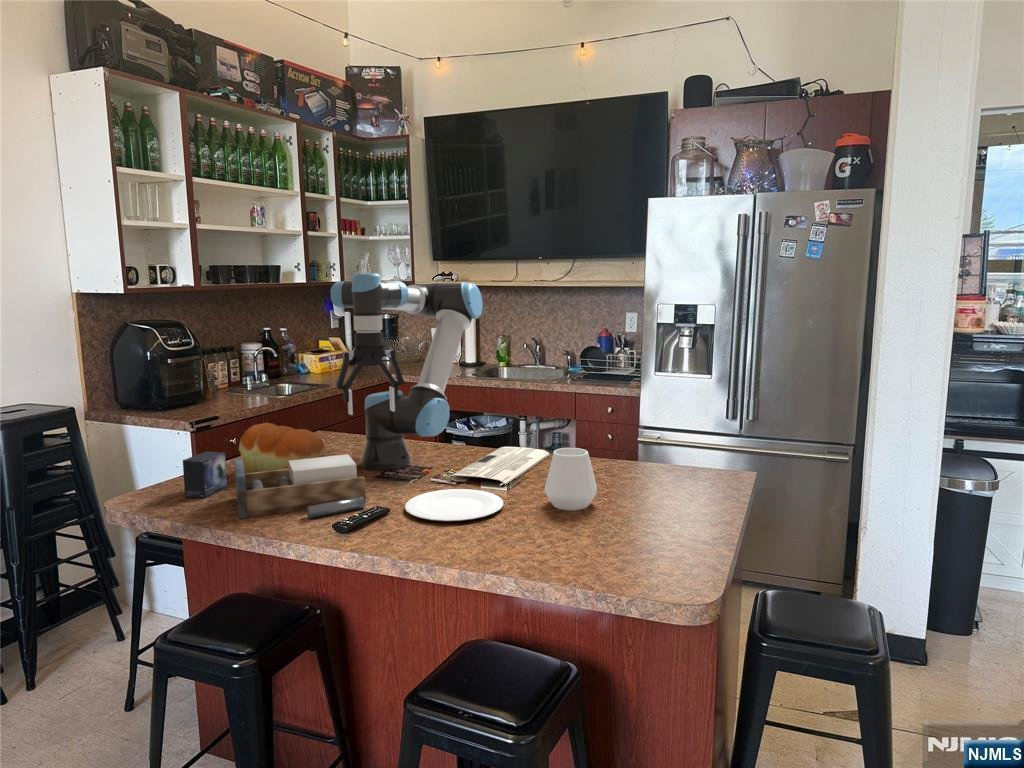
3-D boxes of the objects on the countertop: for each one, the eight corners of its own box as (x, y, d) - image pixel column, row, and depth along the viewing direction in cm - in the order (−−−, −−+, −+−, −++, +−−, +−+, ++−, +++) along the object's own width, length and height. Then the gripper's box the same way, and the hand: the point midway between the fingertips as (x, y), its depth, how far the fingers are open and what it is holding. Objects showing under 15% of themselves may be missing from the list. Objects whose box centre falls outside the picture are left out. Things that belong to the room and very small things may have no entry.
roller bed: (353, 483, 198) (351, 447, 196) (365, 501, 181) (364, 462, 180) (237, 497, 186) (234, 460, 184) (239, 518, 169) (236, 477, 168)
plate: (386, 520, 168) (385, 513, 168) (432, 490, 191) (432, 484, 191) (480, 531, 159) (480, 524, 159) (517, 499, 183) (517, 493, 182)
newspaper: (500, 453, 233) (500, 445, 233) (554, 458, 226) (554, 449, 225) (449, 482, 199) (448, 473, 199) (510, 489, 192) (510, 479, 192)
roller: (361, 506, 178) (360, 494, 177) (365, 509, 175) (364, 497, 175) (306, 516, 170) (306, 504, 170) (310, 520, 167) (309, 508, 167)
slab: (348, 469, 194) (348, 454, 193) (357, 480, 183) (356, 464, 182) (289, 476, 187) (288, 460, 187) (294, 488, 176) (293, 471, 176)
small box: (205, 499, 185) (202, 461, 184) (183, 498, 186) (180, 460, 185) (228, 487, 195) (226, 451, 194) (208, 486, 197) (205, 450, 195)
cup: (601, 499, 181) (602, 447, 179) (590, 515, 169) (590, 459, 166) (552, 494, 185) (552, 443, 183) (538, 510, 173) (537, 456, 171)
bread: (327, 477, 205) (324, 428, 203) (291, 487, 195) (288, 436, 193) (275, 465, 219) (272, 419, 217) (240, 474, 209) (237, 426, 207)
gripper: (407, 329, 193) (409, 406, 196) (321, 332, 184) (326, 413, 187) (414, 330, 186) (416, 411, 189) (326, 334, 177) (330, 418, 180)
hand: (371, 412), depth 188 cm, fingers open, 11 cm apart
